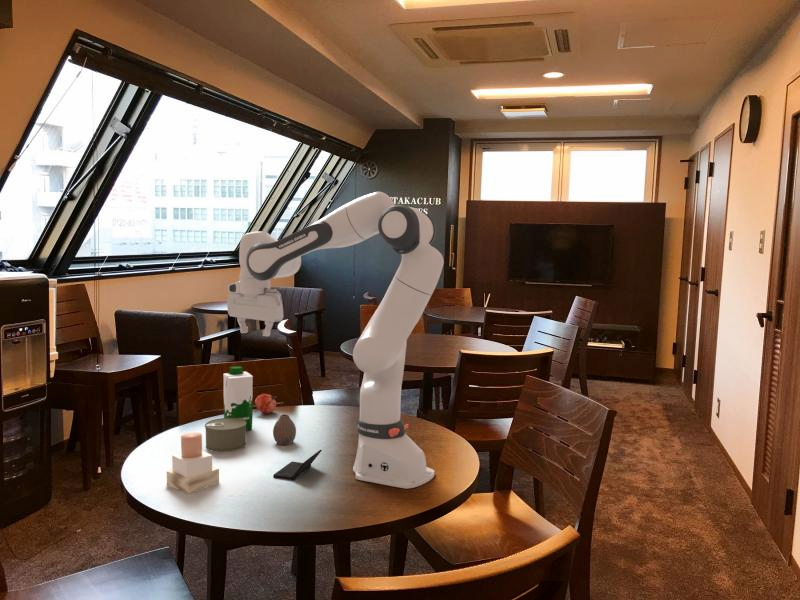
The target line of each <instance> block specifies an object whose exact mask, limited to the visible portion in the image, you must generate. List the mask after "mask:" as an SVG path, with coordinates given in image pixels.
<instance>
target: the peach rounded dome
mask: <svg viewBox="0 0 800 600" xmlns="http://www.w3.org/2000/svg"><path fill="white" fill-rule="evenodd" d="M180 445H181V446H180V448H181V450H180V451H181V452H180V453H181V456H182V457H183V458H196V457H199V456H201V455H202V451H203V434H202V433H200V432H187V433H183V434H182V435H181V436H180Z"/></svg>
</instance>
